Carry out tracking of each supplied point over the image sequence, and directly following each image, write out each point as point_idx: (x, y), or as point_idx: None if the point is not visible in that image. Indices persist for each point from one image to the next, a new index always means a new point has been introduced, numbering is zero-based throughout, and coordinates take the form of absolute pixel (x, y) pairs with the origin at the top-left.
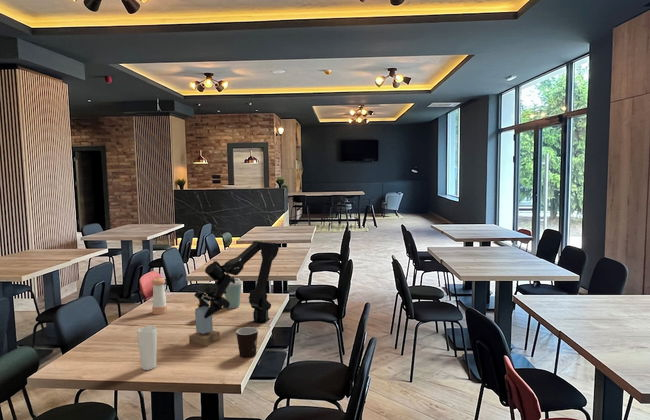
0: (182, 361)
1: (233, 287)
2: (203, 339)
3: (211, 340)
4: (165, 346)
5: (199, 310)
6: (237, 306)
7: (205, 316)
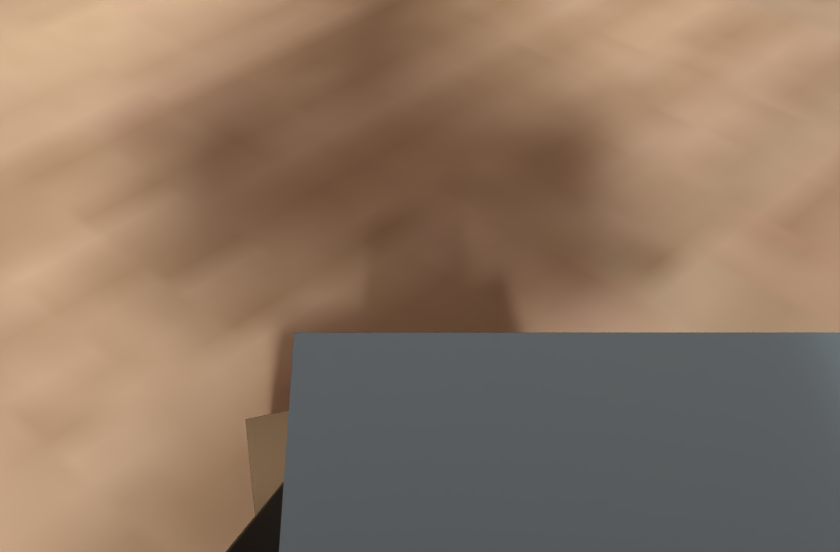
0: (185, 99)
1: None
2: (281, 415)
3: None
4: (637, 198)
5: (501, 334)
6: None
7: (275, 504)
